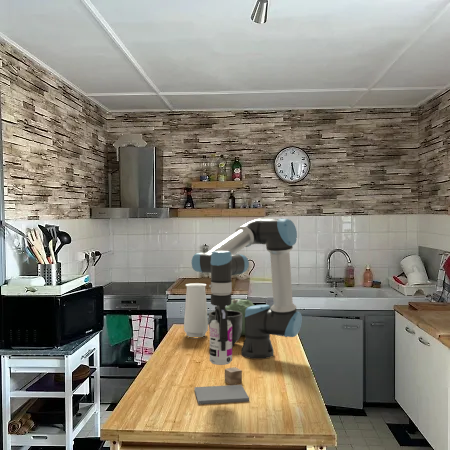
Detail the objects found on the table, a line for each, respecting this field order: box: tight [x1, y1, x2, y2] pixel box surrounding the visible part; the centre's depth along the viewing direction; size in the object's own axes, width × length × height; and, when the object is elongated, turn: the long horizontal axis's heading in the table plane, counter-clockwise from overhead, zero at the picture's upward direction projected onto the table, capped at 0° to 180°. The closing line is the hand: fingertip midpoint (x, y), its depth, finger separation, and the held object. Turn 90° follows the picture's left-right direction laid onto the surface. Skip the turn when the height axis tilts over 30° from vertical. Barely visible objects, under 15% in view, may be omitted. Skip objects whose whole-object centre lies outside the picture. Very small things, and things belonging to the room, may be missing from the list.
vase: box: [183, 282, 209, 338], centre depth 271 cm, size 13×13×28 cm
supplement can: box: [209, 320, 233, 366], centre depth 182 cm, size 8×8×15 cm
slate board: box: [194, 384, 250, 405], centre depth 182 cm, size 18×14×1 cm
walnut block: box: [224, 366, 243, 385], centre depth 197 cm, size 5×5×5 cm
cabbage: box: [225, 298, 255, 336], centre depth 274 cm, size 16×19×20 cm
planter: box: [208, 310, 243, 347], centre depth 253 cm, size 17×17×16 cm
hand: (220, 355), depth 182 cm, fingers closed on supplement can, 8 cm apart
